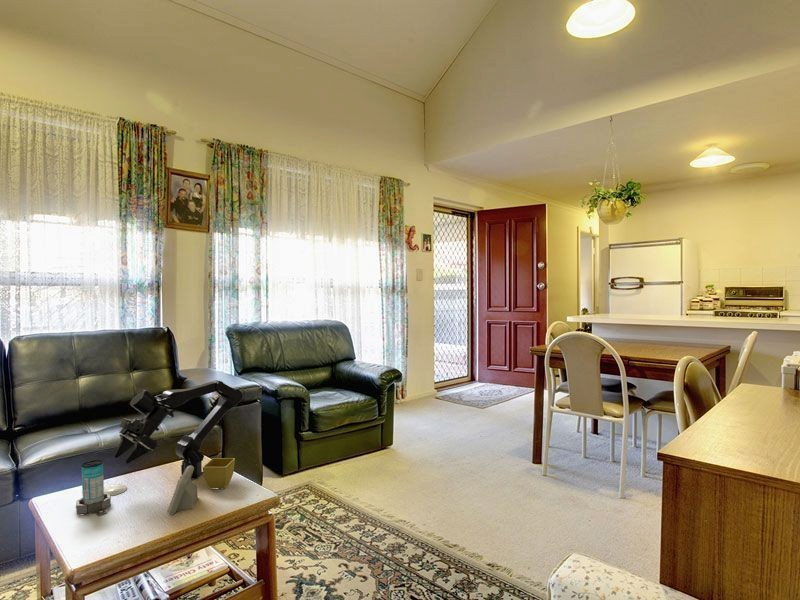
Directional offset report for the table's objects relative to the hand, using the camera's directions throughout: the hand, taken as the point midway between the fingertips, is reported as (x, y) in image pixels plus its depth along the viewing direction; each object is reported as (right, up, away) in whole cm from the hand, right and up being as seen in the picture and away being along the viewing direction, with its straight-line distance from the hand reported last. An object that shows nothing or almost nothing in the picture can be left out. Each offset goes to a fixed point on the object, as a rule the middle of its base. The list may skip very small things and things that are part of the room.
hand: (120, 460), depth 163 cm
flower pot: (+31, -13, +9) cm, 35 cm away
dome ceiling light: (-7, -13, +7) cm, 17 cm away
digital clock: (+23, -14, -5) cm, 27 cm away
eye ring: (-5, -14, -6) cm, 16 cm away
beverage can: (-5, -14, -6) cm, 16 cm away
